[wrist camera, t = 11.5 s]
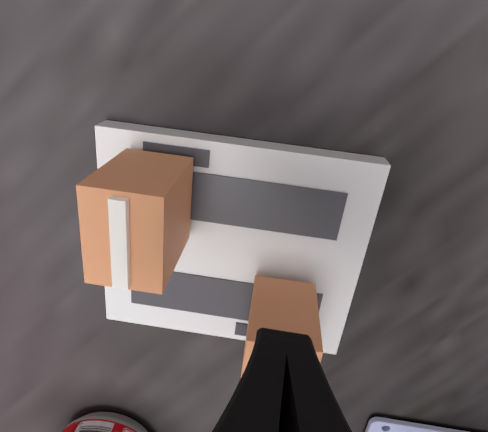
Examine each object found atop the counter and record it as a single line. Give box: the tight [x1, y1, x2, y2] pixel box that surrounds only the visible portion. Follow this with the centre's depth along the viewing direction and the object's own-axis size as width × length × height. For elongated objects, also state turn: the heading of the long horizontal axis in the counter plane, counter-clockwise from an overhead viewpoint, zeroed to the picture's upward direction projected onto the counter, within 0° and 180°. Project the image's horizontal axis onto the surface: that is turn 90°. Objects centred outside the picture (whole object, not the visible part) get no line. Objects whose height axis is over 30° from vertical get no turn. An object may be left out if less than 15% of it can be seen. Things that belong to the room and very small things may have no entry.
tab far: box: [240, 275, 323, 379], centre depth 18 cm, size 3×4×5 cm
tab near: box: [76, 148, 194, 295], centre depth 16 cm, size 3×4×5 cm
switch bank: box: [95, 120, 391, 355], centre depth 20 cm, size 13×11×1 cm
